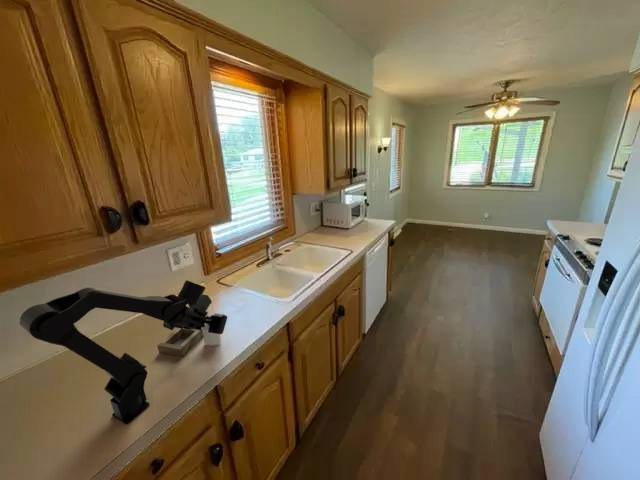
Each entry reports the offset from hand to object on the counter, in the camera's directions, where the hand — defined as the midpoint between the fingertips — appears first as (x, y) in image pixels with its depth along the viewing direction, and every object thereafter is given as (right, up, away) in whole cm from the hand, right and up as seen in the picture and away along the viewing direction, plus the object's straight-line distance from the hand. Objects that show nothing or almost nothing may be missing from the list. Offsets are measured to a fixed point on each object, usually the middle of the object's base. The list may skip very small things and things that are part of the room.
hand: (212, 325), depth 100 cm
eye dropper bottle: (0, -7, +1) cm, 7 cm away
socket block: (-11, -7, 0) cm, 13 cm away
